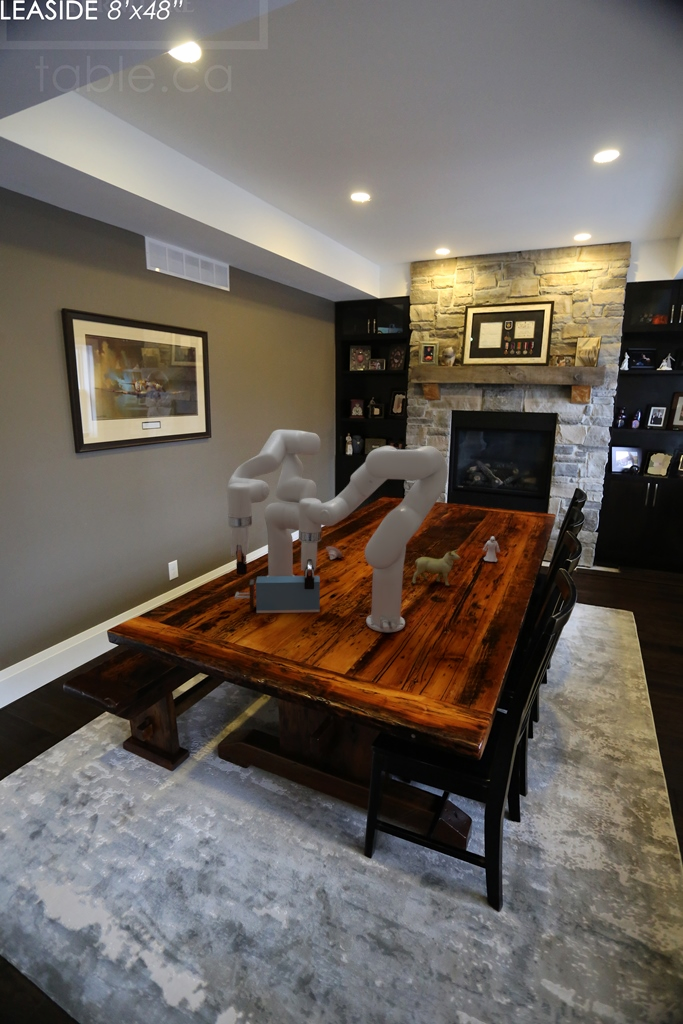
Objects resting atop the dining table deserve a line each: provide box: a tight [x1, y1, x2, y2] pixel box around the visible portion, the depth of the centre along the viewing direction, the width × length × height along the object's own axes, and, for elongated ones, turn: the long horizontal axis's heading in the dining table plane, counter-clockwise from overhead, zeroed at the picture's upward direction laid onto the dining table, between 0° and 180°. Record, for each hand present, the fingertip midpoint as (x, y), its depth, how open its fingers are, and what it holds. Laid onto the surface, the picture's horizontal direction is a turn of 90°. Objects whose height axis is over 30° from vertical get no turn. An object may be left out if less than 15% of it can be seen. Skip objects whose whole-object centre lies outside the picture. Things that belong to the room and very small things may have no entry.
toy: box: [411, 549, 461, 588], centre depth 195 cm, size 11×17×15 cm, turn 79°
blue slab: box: [255, 575, 321, 614], centre depth 171 cm, size 21×6×11 cm, turn 94°
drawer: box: [234, 579, 256, 611], centre depth 171 cm, size 25×4×9 cm, turn 94°
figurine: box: [482, 535, 501, 563], centre depth 223 cm, size 8×8×12 cm
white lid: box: [325, 545, 343, 561], centre depth 222 cm, size 8×5×8 cm
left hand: (241, 573), depth 168 cm, fingers closed
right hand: (309, 583), depth 171 cm, fingers open, 9 cm apart
